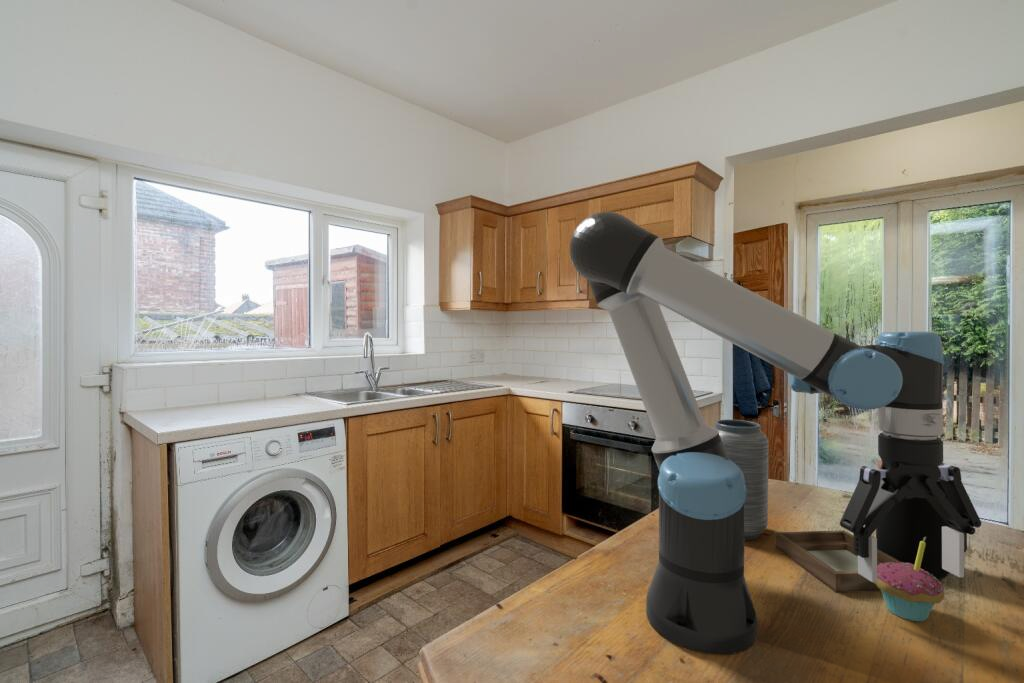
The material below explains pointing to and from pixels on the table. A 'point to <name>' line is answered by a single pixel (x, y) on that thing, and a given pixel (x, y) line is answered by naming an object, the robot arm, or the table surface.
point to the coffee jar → (913, 533)
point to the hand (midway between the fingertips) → (910, 575)
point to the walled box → (829, 558)
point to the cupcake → (909, 588)
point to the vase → (749, 469)
